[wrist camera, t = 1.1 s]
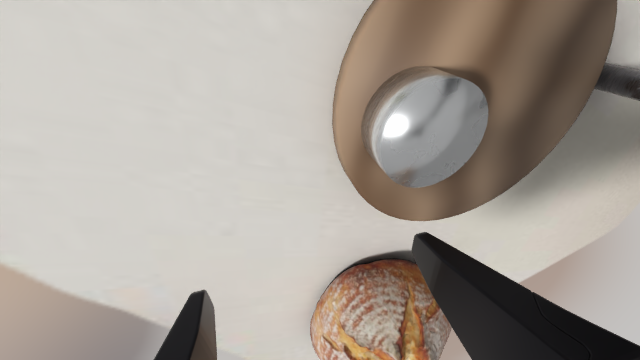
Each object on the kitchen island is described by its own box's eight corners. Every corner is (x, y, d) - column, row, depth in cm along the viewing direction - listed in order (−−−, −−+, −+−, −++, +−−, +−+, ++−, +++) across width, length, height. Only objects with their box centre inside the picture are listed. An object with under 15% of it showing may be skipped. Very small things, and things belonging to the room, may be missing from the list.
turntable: (653, -93, 17) (765, -114, 14) (529, 185, 29) (572, 212, 26) (323, -82, 13) (359, -107, 10) (336, 232, 25) (354, 272, 22)
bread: (396, 219, 30) (466, 300, 21) (442, 294, 41) (499, 365, 33) (270, 307, 30) (292, 418, 22) (350, 357, 42) (383, 441, 34)
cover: (466, 59, 18) (503, 69, 15) (444, 155, 22) (472, 176, 19) (362, 73, 17) (385, 88, 14) (359, 173, 21) (377, 197, 18)
